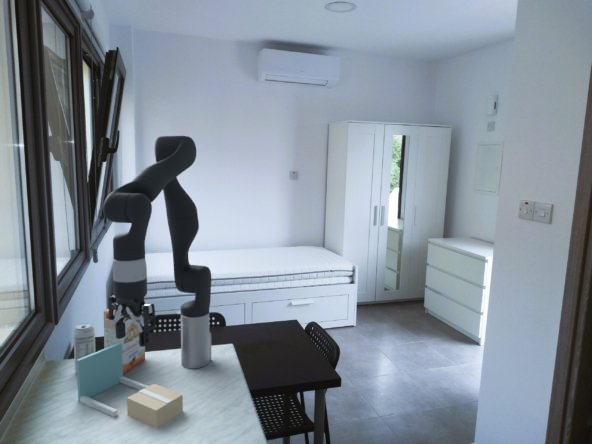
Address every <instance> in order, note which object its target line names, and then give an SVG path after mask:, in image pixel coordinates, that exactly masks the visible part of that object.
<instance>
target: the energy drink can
mask: <svg viewBox="0 0 592 444" xmlns="http://www.w3.org/2000/svg"><path fill="white" fill-rule="evenodd" d="M95 331H96V330H95V328H94V326H93V324H92V323H90V322H89V323H88V322H86V323H80V324H77V325H76V326H75V327H74V330H73V333H72V335H73V353H74V355H73V356H74V372H75V373H77V361H76V360H78V359H80V358H82V357H85V356H87V355H90V354H92V353H95V352H97V351H96V332H95Z"/></svg>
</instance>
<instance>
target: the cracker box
mask: <svg viewBox="0 0 592 444" xmlns="http://www.w3.org/2000/svg"><path fill="white" fill-rule="evenodd" d="M144 302H145V303H146V301H145V299H144ZM113 314H115V310H114V311H113ZM140 318H142V315H141V316H140V317H139V318H138V319H140ZM123 322H125V334H126V335H125V337H123V338H121V339H117V338H116V330H115V324H114V322H113V320H109V308H106V309H105V310H104V311H103V338H104V339H103V343H104V344H103V346H104V348H103V349H105V348H107V347H110V346H112V345H115V344H117V343H122V367H123V375H124V374H126V373H128V372H129V371H130V370H131V369H133V368H134V367H135V366H137V365H138V364H139V363H141V362H142V361H144V360H145V359H146V346H144V347H141V346H139V332H140V331H139V329H138V327H137V325H135V324H134V323H133V321H132V320H131V319H129V318H126V319H125V321H123ZM141 324H142V326H144V323H143V322H141Z"/></svg>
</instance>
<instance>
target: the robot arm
mask: <svg viewBox="0 0 592 444" xmlns="http://www.w3.org/2000/svg"><path fill="white" fill-rule="evenodd" d="M193 139H194V138H192V137H190V136H186V135H164V136H163V135H160V136H158V137H157V138H156V139H155V141H154V149H153V150H154V157H155V163H153V164H151V165H148V166H147V167H145V168H144V169H142V170H141V171H139V173H137V175H136V176H135V177H134V178H133V179H132V181H129V182H127V183H124V184H123V185H122V186H119V187H118V188H116V189H114V190H113V191H111V192H110V193H109V194H108V195H107V196H106V198H105V199H104V202H103V206H102V211H103V216H104V217H105V218H106V220H108V221H110V222H112V223H116V224H117V223H118V224H119V223H120V224H121V223H123V224H131V226H130V228H129V230H128V231H125V232H121V233H120V232H119V233H117V234H115V235H114V236H113V239H112V252H113V253H112V254H113V263H112V282H113V283H112V286H113V289H112V290H113V295H112V296H109V297H108V309H109V320H113V322H114V324H115V330H116V338H117V339H121V338H123V337H125V335H126V334H125V322H123V321H125V319H126V318H129V319H131V320H132V321H133V323H134V324H135V325H137V327H138V329H139V331H140V332H139V346H141V347H144V346H145V347H146V346H148V345H149V344H150V331H151V330H154V329H156V328H157V326H156V325H157V324H156V322H157V321H156V309H155V304H154V303H150V304H147V303H146V301H145V302H144V300H145V298H146V296H147V294H148V273H147V270H148V269H147V260H146V245H145V242H146V237H147V232H148V227H149V223H150V220H151V217H152V213H153V212H152V211H153V205H152V203H153V202H154V201H155V200H156V198H158V196H159V195H160V194H161V193H162V191H163V196H164V203H165V209H166V210H165V211H166V213H165V214H166V218H167V226H168V231H169V234H170V235H169V236H170V241H171V242H170V243H171V250H172V261H173V262H172V263H173V277H174V284H175V288H176V289H177V290H178V291H179V292H180V293H186V294H194V295H195V296H194V299H192V300H189V301H185V302H184V303H182V305H180V359H181V360H180V361H181V366H183V367H185V368H186V369H199V368H203V367H206V366H207V365H208V364H209V363H210V361H211V360H212V332H210V305H211V298H212V297H211V295H212V292H211V291H212V272H211V268H210V267H208V266H206V265H198V264H197V265H196V264H191V263H190V262H189V259H190V258H189V251H190V248H191V246H192V244H193V242H194V240H195V238H196V236H197V235H198V232H199V228H200V224H199V215H198V209H197V206H196V203H195V202H194V201H193V199H192V197H191V196H190V195H189V194H188V193H187V192H186V191H185V189H184V188H183V187H182V185H181V184H180V181H179V179H178V176H180V175H181V174H182V173H183V172H185V171H187V169H189V168H190V167H192V166H193V164H194V163H195V162H196V159H197V147H196V143H195V141H194V140H193ZM114 310H115V314H113V311H114ZM141 315H142V318H140V319H138V318H139V317H140V316H141ZM149 321H150V322H149ZM141 322H143V323H144V326H142V324H141Z"/></svg>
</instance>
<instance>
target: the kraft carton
mask: <svg viewBox="0 0 592 444" xmlns="http://www.w3.org/2000/svg"><path fill="white" fill-rule="evenodd" d="M148 386H149V387H147V388H145V389H142V390H138V391H137V392H136V393H133V394H132V395H130V396H127V398H126V407H127V410H126V411H127V416H130V417H132V418H134V419H135V420H138V421H140V422H143V423H145V424H147V425H149V426H150V427H153V428H156V429H158V428H159V427H160V426H162V425H164V424H165V423H168V421H171V420H172V418H175V417H176V416H178V415H180V413H182V412H184V410H183V409H184V403H183V400H184V397H183V395H184V394H183V393H182V394H181V393H180V392H177V391H175V390H172V389H169V388H167V387H164V386H161V385H160V384H156V383H153V384H151V385H148Z"/></svg>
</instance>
